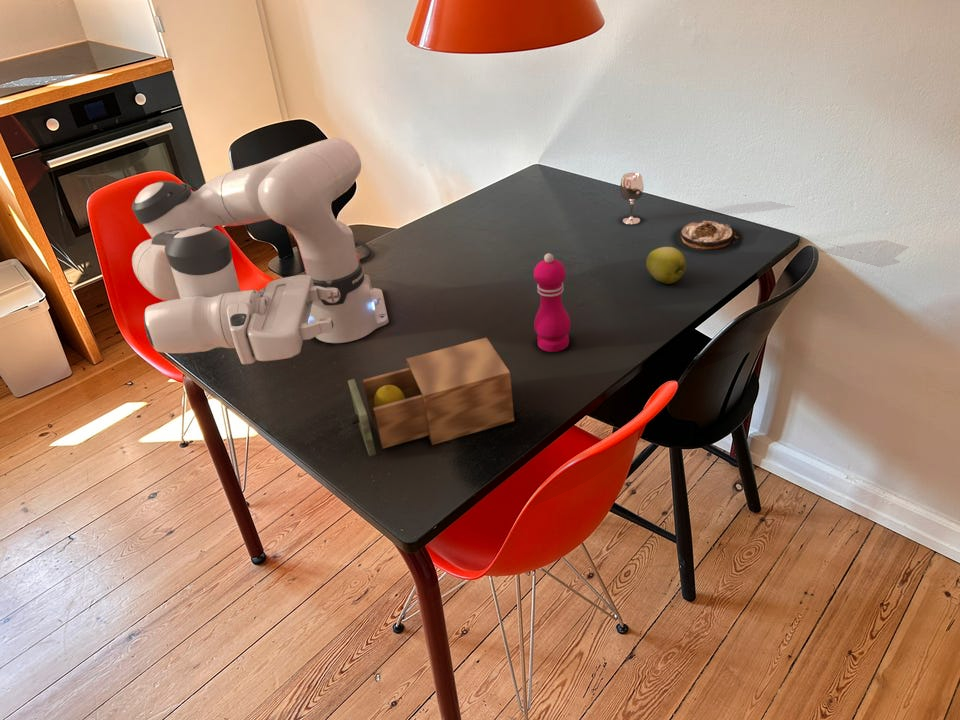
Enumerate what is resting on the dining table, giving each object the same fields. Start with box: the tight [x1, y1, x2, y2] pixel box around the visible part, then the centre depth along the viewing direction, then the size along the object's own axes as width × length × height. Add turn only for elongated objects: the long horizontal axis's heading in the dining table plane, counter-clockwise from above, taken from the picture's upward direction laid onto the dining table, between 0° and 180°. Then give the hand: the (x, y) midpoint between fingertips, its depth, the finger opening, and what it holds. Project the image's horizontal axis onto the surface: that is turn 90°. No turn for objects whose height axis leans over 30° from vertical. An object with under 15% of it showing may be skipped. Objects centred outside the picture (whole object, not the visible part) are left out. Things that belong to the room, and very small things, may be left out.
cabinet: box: [405, 337, 515, 446], centre depth 135 cm, size 15×12×11 cm
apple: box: [645, 246, 687, 285], centre depth 167 cm, size 8×9×8 cm
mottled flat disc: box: [679, 219, 739, 251], centre depth 184 cm, size 15×15×4 cm
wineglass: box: [619, 172, 645, 225], centre depth 194 cm, size 6×6×12 cm
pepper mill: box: [533, 252, 572, 353], centre depth 148 cm, size 7×7×20 cm
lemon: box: [374, 385, 405, 408], centre depth 132 cm, size 6×6×8 cm
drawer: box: [347, 367, 430, 457], centre depth 132 cm, size 15×11×9 cm
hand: (335, 309), depth 121 cm, fingers open, 8 cm apart
